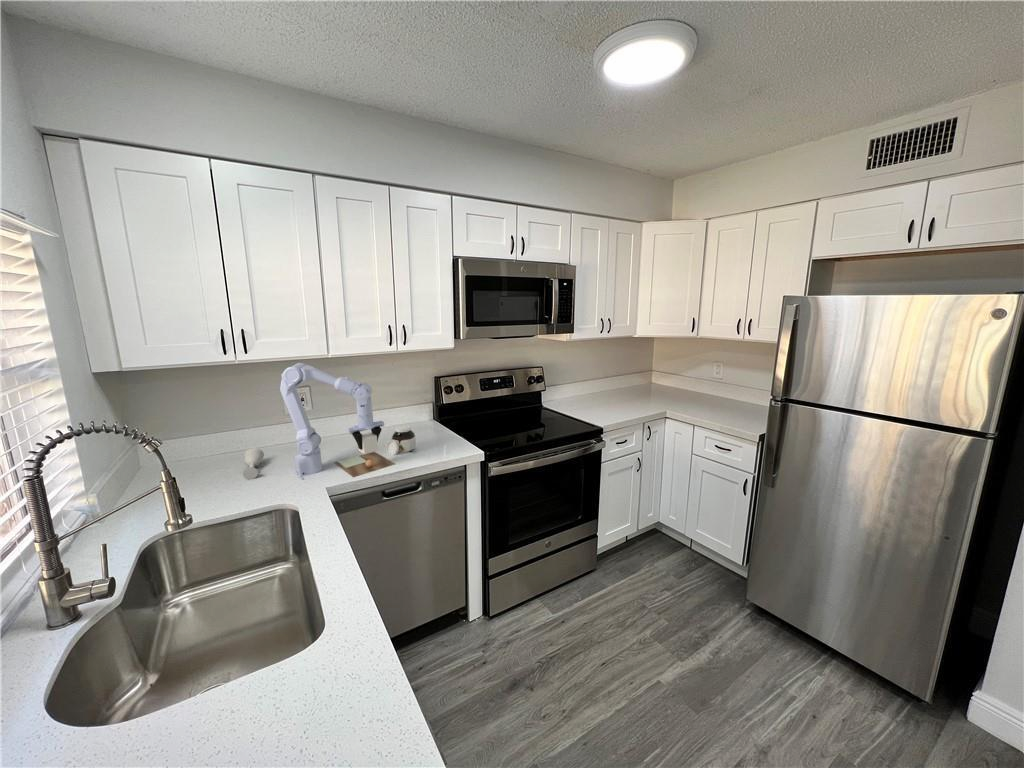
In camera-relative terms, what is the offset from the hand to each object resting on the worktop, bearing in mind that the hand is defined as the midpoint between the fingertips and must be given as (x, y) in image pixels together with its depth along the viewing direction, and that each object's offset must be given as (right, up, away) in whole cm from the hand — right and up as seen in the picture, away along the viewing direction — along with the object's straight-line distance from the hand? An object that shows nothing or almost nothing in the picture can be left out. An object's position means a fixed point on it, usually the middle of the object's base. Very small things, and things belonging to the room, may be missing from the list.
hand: (367, 446), depth 168 cm
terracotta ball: (0, -7, +2) cm, 7 cm away
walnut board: (-3, -9, +6) cm, 11 cm away
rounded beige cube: (0, -2, 0) cm, 2 cm away
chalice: (-43, -9, -7) cm, 45 cm away
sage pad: (-9, -7, +7) cm, 14 cm away
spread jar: (+8, -6, +19) cm, 22 cm away
